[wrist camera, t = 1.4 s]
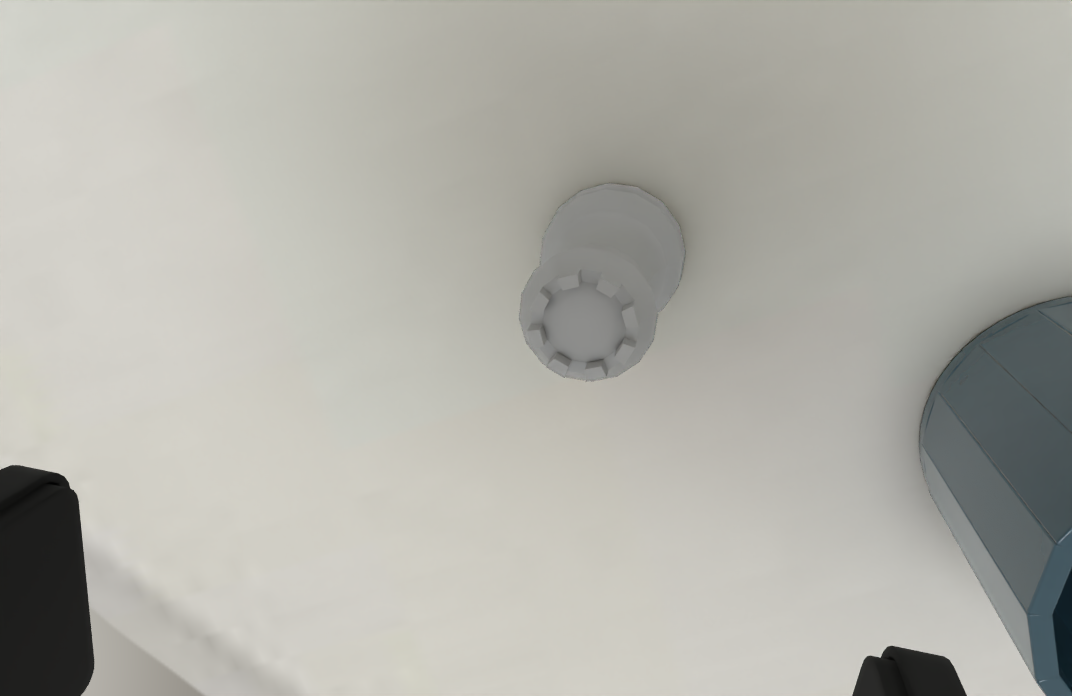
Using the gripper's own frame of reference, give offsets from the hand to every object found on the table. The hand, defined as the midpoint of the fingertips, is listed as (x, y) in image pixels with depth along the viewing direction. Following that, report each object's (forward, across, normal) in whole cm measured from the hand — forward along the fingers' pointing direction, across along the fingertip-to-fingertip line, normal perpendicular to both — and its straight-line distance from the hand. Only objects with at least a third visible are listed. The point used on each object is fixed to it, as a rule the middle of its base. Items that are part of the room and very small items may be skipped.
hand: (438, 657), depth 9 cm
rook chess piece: (+18, 0, -1) cm, 18 cm away
